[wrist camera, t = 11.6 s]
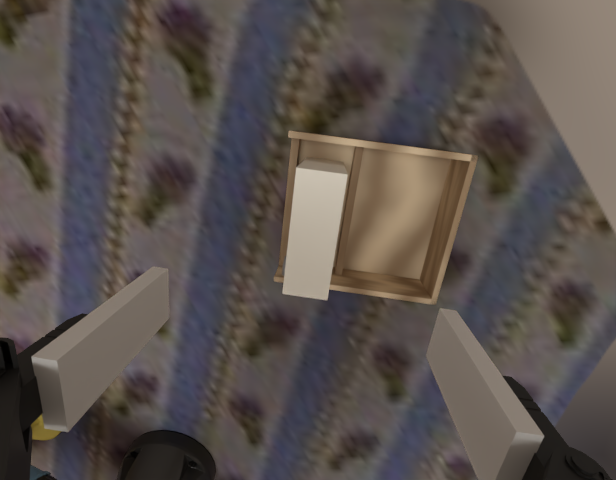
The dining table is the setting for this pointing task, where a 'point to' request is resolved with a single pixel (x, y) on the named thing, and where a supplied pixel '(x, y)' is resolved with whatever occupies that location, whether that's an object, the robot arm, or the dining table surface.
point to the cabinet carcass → (388, 214)
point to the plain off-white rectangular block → (314, 227)
